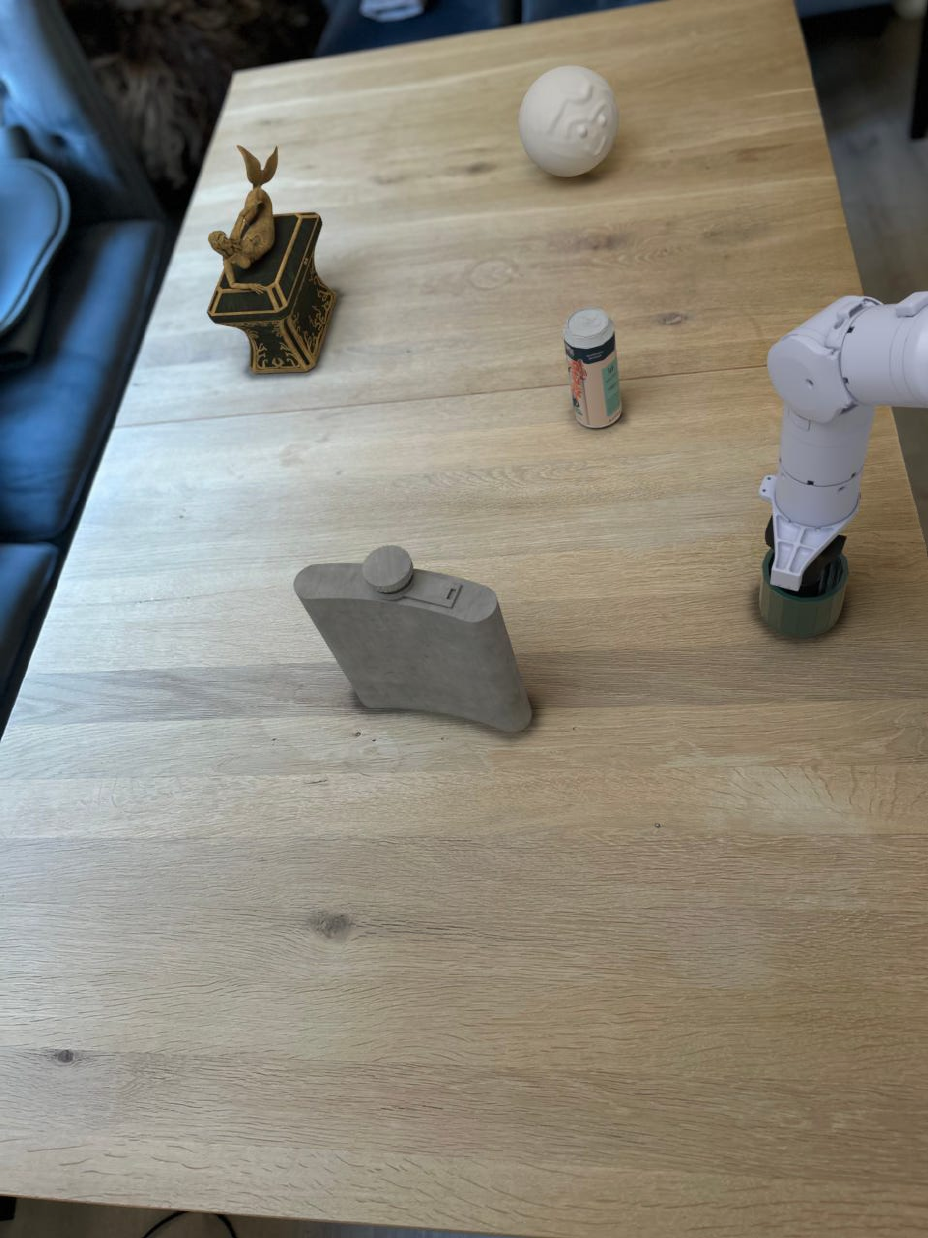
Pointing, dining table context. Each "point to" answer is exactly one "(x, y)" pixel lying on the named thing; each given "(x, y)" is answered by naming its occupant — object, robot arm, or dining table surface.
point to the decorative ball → (568, 120)
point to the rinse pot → (803, 601)
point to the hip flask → (417, 638)
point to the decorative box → (272, 280)
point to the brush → (806, 589)
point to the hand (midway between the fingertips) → (805, 568)
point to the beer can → (593, 367)
